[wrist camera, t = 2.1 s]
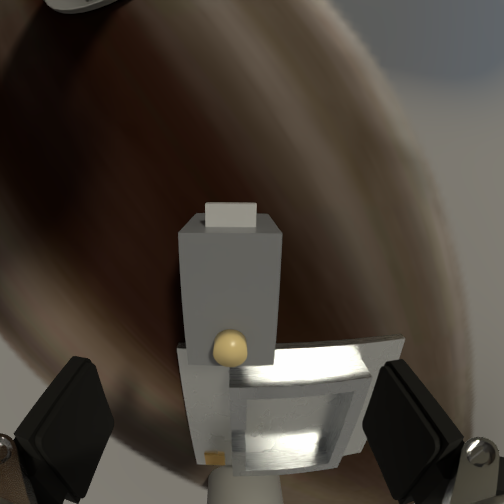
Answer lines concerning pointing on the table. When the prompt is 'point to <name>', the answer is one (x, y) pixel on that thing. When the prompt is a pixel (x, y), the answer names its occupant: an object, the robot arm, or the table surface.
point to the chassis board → (285, 405)
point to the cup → (242, 488)
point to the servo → (230, 285)
